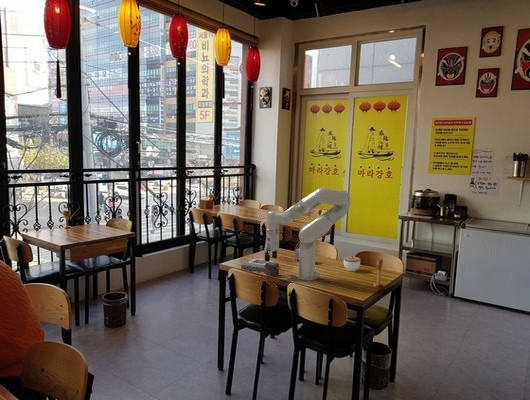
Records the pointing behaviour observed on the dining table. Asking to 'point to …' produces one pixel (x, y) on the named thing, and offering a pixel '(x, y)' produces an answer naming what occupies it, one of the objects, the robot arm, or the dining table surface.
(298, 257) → the food item
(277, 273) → the box
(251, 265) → the grey flat block
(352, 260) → the lidded jar
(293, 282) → the dining table surface
